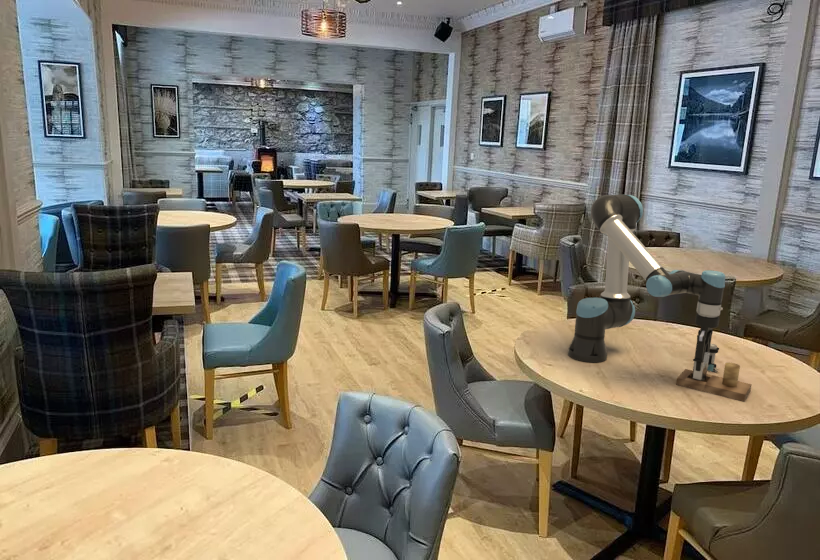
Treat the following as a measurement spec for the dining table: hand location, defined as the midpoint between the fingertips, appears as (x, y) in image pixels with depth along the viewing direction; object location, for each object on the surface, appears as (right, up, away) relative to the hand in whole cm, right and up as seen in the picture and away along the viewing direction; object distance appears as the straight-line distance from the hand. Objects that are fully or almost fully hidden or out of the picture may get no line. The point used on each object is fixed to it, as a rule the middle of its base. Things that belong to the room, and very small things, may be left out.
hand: (698, 376), depth 217 cm
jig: (+4, -4, -2) cm, 6 cm away
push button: (+12, 0, +15) cm, 19 cm away
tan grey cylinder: (0, -1, 0) cm, 1 cm away
